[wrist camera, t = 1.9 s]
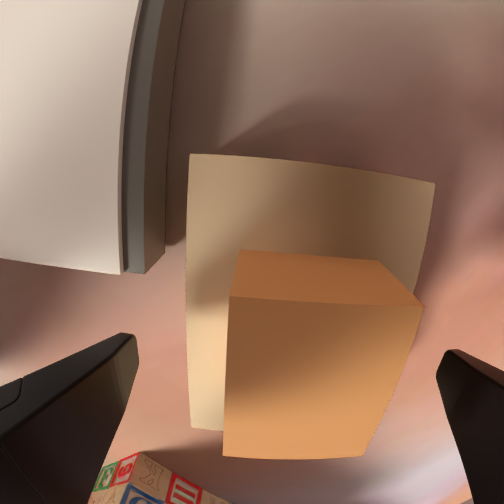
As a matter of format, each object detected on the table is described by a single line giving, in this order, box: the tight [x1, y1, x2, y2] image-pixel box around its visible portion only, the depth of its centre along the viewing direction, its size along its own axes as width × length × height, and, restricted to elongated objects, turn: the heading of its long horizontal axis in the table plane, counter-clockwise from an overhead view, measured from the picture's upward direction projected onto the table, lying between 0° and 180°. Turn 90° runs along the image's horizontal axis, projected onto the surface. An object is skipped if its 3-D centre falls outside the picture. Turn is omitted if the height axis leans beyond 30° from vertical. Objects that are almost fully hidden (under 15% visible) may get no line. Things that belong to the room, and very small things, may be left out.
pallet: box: [186, 154, 436, 431], centre depth 11 cm, size 7×10×4 cm
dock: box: [0, 0, 185, 275], centre depth 9 cm, size 13×16×3 cm
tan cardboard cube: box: [223, 249, 425, 459], centre depth 8 cm, size 4×5×3 cm
